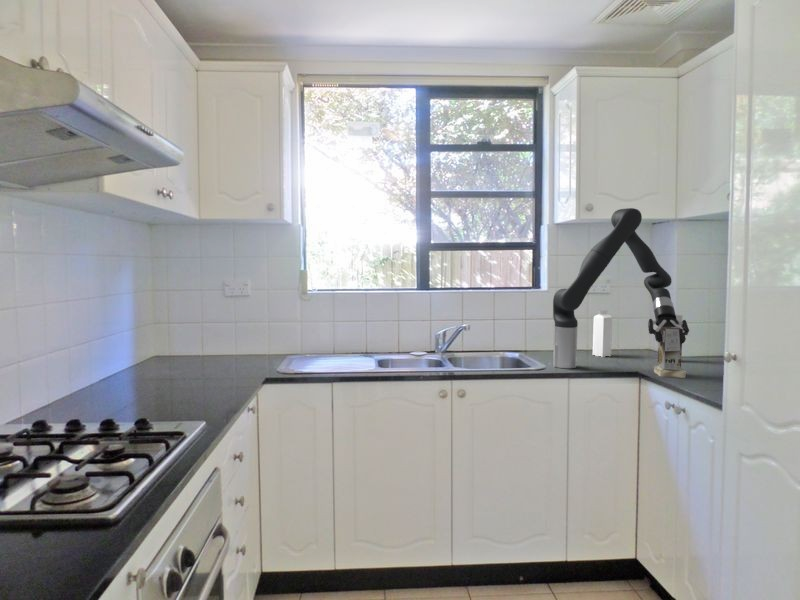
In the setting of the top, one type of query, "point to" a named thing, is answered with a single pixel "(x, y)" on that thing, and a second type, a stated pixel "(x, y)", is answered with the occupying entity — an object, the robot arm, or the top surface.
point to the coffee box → (670, 348)
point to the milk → (602, 334)
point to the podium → (669, 372)
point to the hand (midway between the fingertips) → (671, 341)
